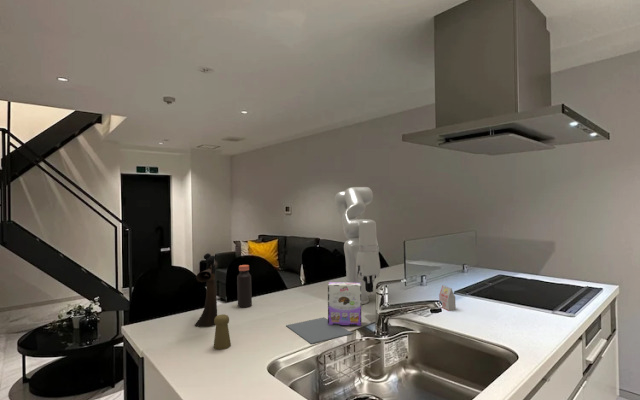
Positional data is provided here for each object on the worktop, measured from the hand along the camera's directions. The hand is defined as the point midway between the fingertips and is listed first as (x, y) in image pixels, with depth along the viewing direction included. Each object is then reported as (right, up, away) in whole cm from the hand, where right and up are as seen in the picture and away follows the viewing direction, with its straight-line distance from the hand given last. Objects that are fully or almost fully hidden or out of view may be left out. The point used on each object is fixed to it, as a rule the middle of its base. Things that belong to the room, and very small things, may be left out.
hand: (369, 291), depth 151 cm
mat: (-22, -12, -12) cm, 28 cm away
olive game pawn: (-56, -13, -26) cm, 63 cm away
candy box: (-11, -12, -6) cm, 17 cm away
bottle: (-59, -14, +23) cm, 65 cm away
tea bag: (+38, -11, +11) cm, 41 cm away
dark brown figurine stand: (-69, -14, -2) cm, 71 cm away
